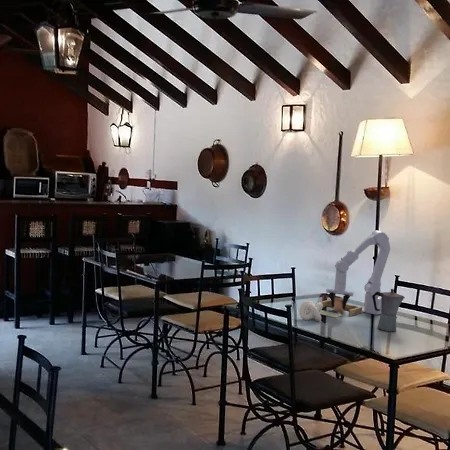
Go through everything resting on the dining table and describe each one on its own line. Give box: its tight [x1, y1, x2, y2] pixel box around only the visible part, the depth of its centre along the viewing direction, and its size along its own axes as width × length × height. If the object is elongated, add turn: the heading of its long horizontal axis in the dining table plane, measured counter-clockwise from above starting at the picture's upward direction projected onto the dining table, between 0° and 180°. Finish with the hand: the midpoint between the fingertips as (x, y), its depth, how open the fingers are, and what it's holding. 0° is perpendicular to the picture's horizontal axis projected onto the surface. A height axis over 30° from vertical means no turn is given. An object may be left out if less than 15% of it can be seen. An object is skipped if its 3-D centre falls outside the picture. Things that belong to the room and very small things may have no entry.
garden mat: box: [320, 310, 343, 318], centre depth 325 cm, size 14×8×1 cm, turn 51°
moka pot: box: [372, 288, 406, 333], centre depth 299 cm, size 10×15×20 cm, turn 89°
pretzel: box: [298, 300, 324, 322], centre depth 309 cm, size 11×12×9 cm
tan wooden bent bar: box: [315, 299, 363, 317], centre depth 334 cm, size 21×13×3 cm, turn 51°
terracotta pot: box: [333, 297, 344, 313], centre depth 334 cm, size 6×6×6 cm
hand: (338, 307), depth 334 cm, fingers closed on terracotta pot, 5 cm apart
